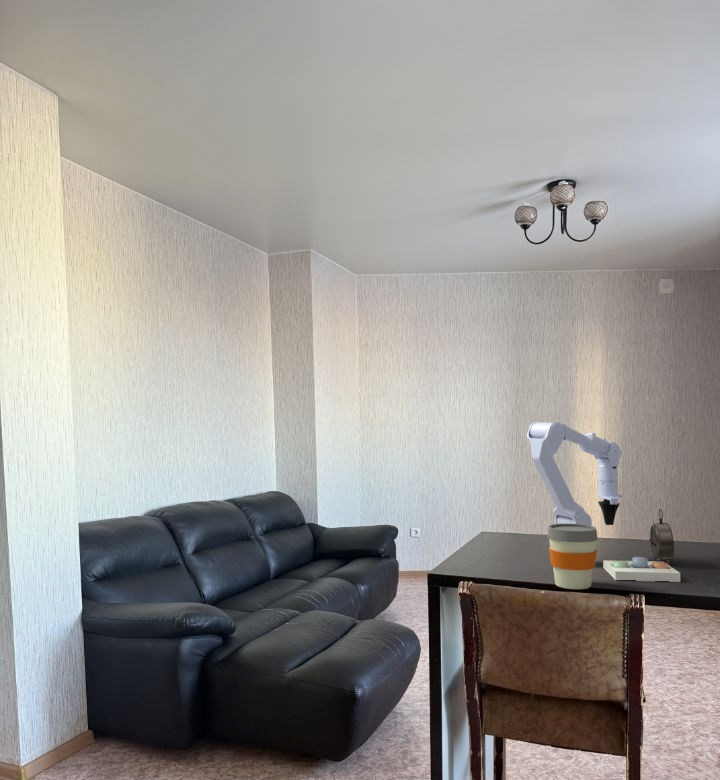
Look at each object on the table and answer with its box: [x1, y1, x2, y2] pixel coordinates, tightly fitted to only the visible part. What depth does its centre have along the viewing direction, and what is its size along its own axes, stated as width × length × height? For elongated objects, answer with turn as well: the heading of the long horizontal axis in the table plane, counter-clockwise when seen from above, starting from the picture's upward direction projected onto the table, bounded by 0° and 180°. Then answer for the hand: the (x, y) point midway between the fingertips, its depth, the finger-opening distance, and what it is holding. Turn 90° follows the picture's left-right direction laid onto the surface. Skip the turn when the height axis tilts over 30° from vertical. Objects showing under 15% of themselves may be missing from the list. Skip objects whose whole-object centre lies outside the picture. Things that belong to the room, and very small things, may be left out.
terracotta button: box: [652, 561, 668, 569], centre depth 189 cm, size 4×4×3 cm
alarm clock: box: [648, 508, 675, 567], centre depth 204 cm, size 11×5×16 cm, turn 168°
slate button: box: [631, 556, 649, 568], centre depth 189 cm, size 4×4×3 cm
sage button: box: [612, 560, 628, 568], centre depth 190 cm, size 4×4×3 cm
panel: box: [602, 559, 681, 583], centre depth 189 cm, size 17×14×2 cm
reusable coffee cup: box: [547, 523, 598, 590], centre depth 179 cm, size 13×12×15 cm
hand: (609, 524), depth 211 cm, fingers closed
